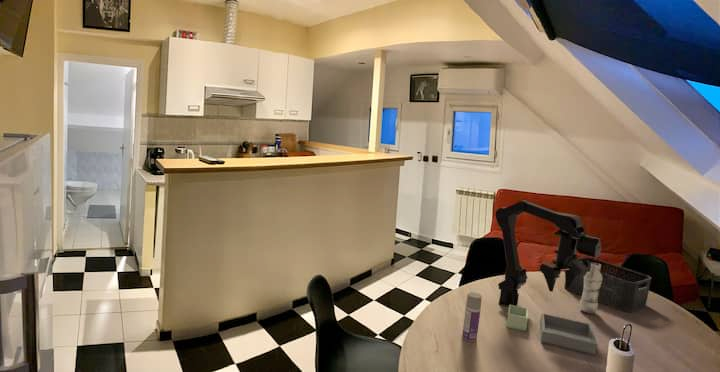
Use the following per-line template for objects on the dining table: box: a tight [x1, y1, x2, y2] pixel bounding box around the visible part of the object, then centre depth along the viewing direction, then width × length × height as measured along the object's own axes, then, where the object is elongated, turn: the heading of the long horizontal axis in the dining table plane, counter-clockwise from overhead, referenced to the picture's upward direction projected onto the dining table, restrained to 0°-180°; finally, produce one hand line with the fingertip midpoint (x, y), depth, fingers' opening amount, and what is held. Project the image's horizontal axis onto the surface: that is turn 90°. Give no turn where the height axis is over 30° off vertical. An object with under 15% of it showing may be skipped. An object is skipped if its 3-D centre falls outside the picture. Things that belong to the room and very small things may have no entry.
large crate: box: [539, 312, 598, 357], centre depth 141 cm, size 16×16×4 cm
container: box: [461, 291, 483, 343], centre depth 135 cm, size 5×5×15 cm
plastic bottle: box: [578, 262, 603, 314], centre depth 163 cm, size 6×7×20 cm
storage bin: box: [564, 256, 652, 313], centre depth 182 cm, size 29×19×13 cm
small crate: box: [505, 304, 529, 332], centre depth 148 cm, size 6×9×5 cm
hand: (559, 290), depth 151 cm, fingers open, 9 cm apart
